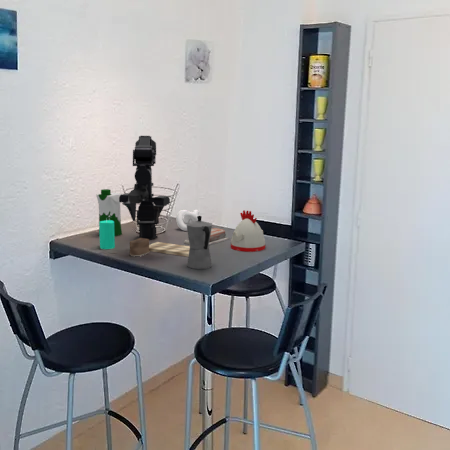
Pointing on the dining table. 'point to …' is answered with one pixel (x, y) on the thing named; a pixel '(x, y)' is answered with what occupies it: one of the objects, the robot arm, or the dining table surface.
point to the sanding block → (139, 247)
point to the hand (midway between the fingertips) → (144, 221)
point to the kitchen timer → (248, 235)
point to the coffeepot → (199, 244)
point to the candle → (107, 234)
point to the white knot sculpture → (186, 218)
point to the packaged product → (214, 236)
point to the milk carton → (110, 209)
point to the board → (170, 249)
